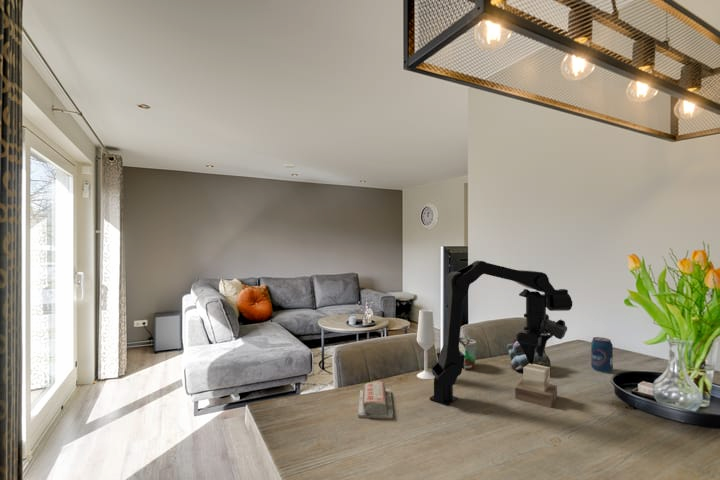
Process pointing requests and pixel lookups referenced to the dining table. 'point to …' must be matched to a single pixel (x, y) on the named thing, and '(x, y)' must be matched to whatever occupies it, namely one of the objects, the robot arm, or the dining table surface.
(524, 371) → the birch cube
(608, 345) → the soda can
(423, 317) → the champagne flute
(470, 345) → the food container
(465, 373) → the dining table surface
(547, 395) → the walnut block
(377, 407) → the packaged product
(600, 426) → the dining table surface
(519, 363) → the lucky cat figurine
